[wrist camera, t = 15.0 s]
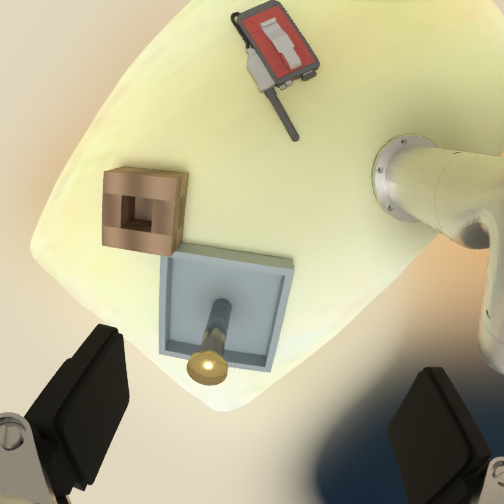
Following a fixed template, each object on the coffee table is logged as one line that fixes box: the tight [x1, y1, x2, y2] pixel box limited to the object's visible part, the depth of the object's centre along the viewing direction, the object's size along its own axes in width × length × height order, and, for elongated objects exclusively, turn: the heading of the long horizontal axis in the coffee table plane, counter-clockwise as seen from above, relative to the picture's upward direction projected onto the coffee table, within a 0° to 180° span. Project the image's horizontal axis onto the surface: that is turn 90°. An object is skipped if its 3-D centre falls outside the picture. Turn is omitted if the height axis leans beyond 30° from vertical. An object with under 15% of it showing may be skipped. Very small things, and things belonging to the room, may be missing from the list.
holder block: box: [102, 167, 189, 257], centre depth 41 cm, size 10×10×6 cm
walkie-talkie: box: [231, 0, 320, 142], centre depth 35 cm, size 9×4×20 cm
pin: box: [187, 298, 232, 385], centre depth 41 cm, size 5×5×15 cm
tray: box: [159, 243, 294, 372], centre depth 47 cm, size 18×18×4 cm
